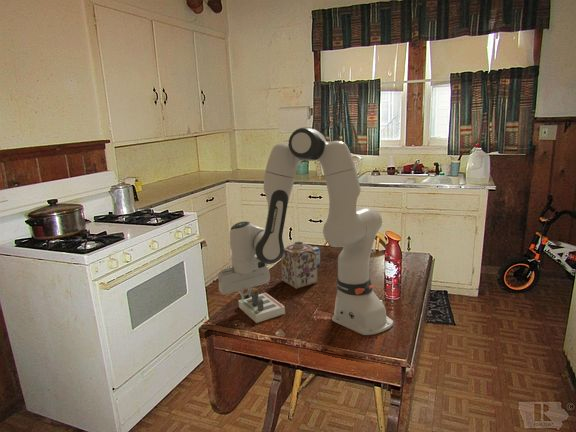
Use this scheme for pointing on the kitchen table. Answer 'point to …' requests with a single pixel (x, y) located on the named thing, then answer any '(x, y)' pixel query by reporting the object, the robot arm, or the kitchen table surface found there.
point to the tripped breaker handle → (255, 291)
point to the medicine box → (317, 254)
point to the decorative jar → (299, 265)
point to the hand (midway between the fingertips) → (246, 298)
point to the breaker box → (261, 307)
